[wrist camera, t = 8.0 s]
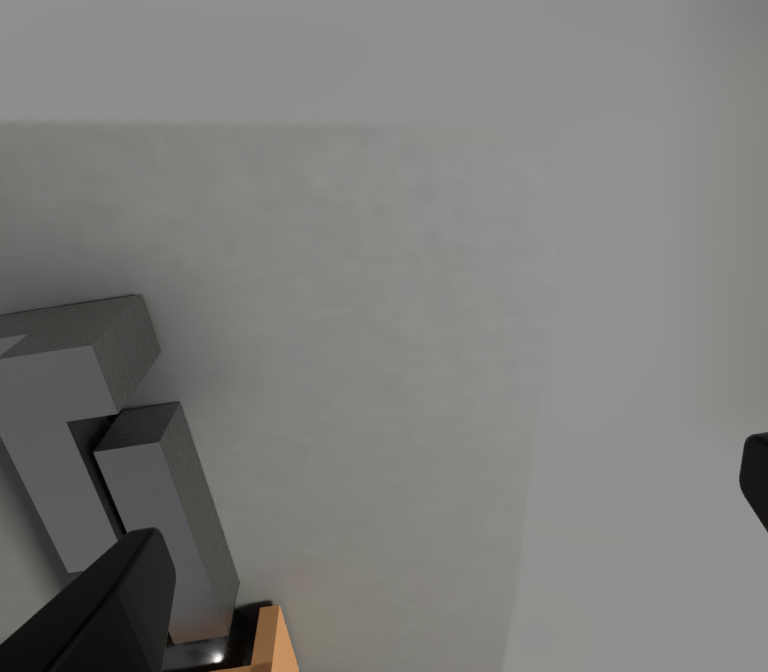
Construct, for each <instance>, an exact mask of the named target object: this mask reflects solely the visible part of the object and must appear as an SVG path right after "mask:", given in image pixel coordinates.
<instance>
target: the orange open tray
mask: <svg viewBox="0 0 768 672" xmlns="http://www.w3.org/2000/svg"><path fill="white" fill-rule="evenodd" d="M211 672H299V668H298V665H297V662H296V658H295V655H294V652H293V648H292V645H291V641H290V638H289V635H288V631H287V628H286V625H285V621H284V618H283V614H282V611H281V608H280V605H274V606H268V607H261V608H260V612H259V618H258V624H257V630H256V637H255V643H254V649H253V655H252V662H251V665H250V666H243V667H237V668H230V669H224V670H218V671H211Z"/></svg>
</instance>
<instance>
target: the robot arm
mask: <svg viewBox="0 0 768 672" xmlns="http://www.w3.org/2000/svg"><path fill="white" fill-rule="evenodd" d="M739 482H740V487H741V490H742V492H743V494H744V496H745V498H746V499H747V501H748V502H749V504H750V506H751V507H752V509H753V510H754V512H755V513H756V515H757V516H758V518H759V519H760V521H761V523H762V524H763V525H764V527H765V529H766V530H767V532H768V432H766V433H759V434H753V435H751V436H749V437H748V438H747V439H746V441H745V443H744V449H743V456H742V462H741V469H740V476H739ZM175 586H176V570H175V566H174V563H173V560H172V558H171V555H170V552H169V550H168V547H167V545H166V542H165V539H164V537H163V535H162V533H161V531H160V530H159V529H158V528H155V527H150V528H144V529H137V530H132V531H130V532H128V533H127V534H125V535H124V536H123V537H122V538H121V539H120V540H118V541H117V542H116V543H115V544H114V545H113V546H112V547H111V548H109V549H108V550H107V551H106V552H105V553H104V554H103V555H101V556H100V557H99V558H98V559H97V560H96V561H95V562H94V563H92V564H91V565H90V566H89V567H88V568H87V569H86V570H84V571H83V572H82V573H81V574H80V575H79V576H78V577H77V578H75V579H74V580H73V581H72V582H71V583H70V584H69V585H68V586H66V587H65V588H64V589H63V590H62V591H61V592H60V593H58V594H57V595H56V596H55V597H54V598H53V599H52V600H51V601H49V602H48V603H47V604H46V605H45V606H44V607H43V608H42V609H40V610H39V611H38V612H37V613H36V614H35V615H34V616H32V617H31V618H30V619H29V620H28V621H27V622H26V623H25V624H23V625H22V626H21V627H20V628H19V629H18V630H17V631H15V632H14V633H13V634H12V635H11V636H10V637H9V638H8V639H6V640H5V641H4V642H3V643H2V644H1V645H0V672H162V667H163V661H164V655H165V648H166V642H167V636H168V629H169V623H170V617H171V611H172V604H173V598H174V592H175Z"/></svg>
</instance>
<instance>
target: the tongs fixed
mask: <svg viewBox="0 0 768 672" xmlns="http://www.w3.org/2000/svg"><path fill="white" fill-rule="evenodd" d="M93 453H94V455H95V457H96V460H97V462H98V465H99V467H100V469H101V472H102V474H103V476H104V479H105V481H106V484H107V486H108V488H109V491H110V493H111V495H112V498H113V500H114V503H115V505H116V507H117V510H118V512H119V514H120V517H121V519H122V522H123V524H124V526H125V529H126V531H127V533H128V532H130V531H132V530H137V529H144V528H150V527H155V528H158V529H159V530H160V531H161V533H162V535H163V537H164V539H165V542H166V545H167V547H168V550H169V552H170V555H171V558H172V560H173V563H174V566H175V570H176V586H175V592H174V598H173V604H172V611H171V617H170V623H169V629H168V636H167V642H166V648H165V655H164V661H163V667H162V672H211V671H218V670H224V669H230V668H237V667H243V666H245V665H246V659H247V653H248V647H249V641H250V628H249V625H248V622H247V621H246V619H245V618H244V617H243V616H242V614H240V613H239V612H238V611H237V610H235V609H234V607H235V603H236V598H237V593H238V588H239V584H240V582H239V579H238V576H237V573H236V570H235V567H234V564H233V561H232V558H231V555H230V552H229V549H228V546H227V543H226V540H225V536H224V533H223V530H222V527H221V524H220V521H219V518H218V515H217V512H216V509H215V506H214V503H213V500H212V497H211V494H210V491H209V488H208V485H207V482H206V479H205V476H204V473H203V470H202V467H201V464H200V461H199V458H198V455H197V452H196V449H195V445H194V442H193V439H192V436H191V433H190V430H189V427H188V424H187V421H186V418H185V415H184V412H183V409H182V406H181V403H180V402H176V403H170V404H163V405H156V406H150V407H143V408H137V409H130V410H124V411H121V413H120V414H119V416H118V417H117V419H116V420H115V422H114V423H113V424H112V426H111V427H110V429H109V430H108V432H107V433H106V435H105V436H104V437H103V439H102V440H101V442H100V443H99V445H98V446H97V448H96V449H95V450H94V452H93Z"/></svg>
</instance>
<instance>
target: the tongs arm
mask: <svg viewBox="0 0 768 672" xmlns="http://www.w3.org/2000/svg"><path fill="white" fill-rule="evenodd" d="M160 353H161V350H160V347H159V344H158V341H157V338H156V335H155V332H154V329H153V326H152V323H151V320H150V317H149V314H148V311H147V308H146V305H145V302H144V299H143V296H142V294H141V295H134V296H127V297H121V298H114V299H107V300H101V301H94V302H88V303H81V304H74V305H68V306H61V307H55V308H48V309H41V310H35V311H28V312H22V313H15V314H8V315H2V316H0V437H1V439H2V441H3V443H4V445H5V447H6V449H7V451H8V453H9V455H10V457H11V459H12V461H13V463H14V465H15V467H16V469H17V471H18V473H19V475H20V477H21V479H22V481H23V483H24V485H25V487H26V489H27V491H28V493H29V495H30V497H31V499H32V501H33V503H34V505H35V507H36V509H37V511H38V513H39V515H40V517H41V519H42V521H43V523H44V525H45V527H46V529H47V531H48V533H49V535H50V537H51V539H52V541H53V543H54V545H55V547H56V549H57V551H58V553H59V555H60V557H61V559H62V561H63V563H64V566H65V568H66V570H67V572H68V576H69V578H70V580H71V582H72V581H73V580H74V579H75V578H77V577H78V576H79V575H80V574H81V573H82V572H83V571H84V570H86V569H87V568H88V567H89V566H90V565H91V564H92V563H94V562H95V561H96V560H97V559H98V558H99V557H100V556H101V555H103V554H104V553H105V552H106V551H107V550H108V549H109V548H111V547H112V546H113V545H114V544H115V543H116V542H117V541H118V540H120V539H121V538H122V537H123V536H124V535H125V534H127V531H126V529H125V526H124V524H123V522H122V519H121V517H120V514H119V512H118V510H117V507H116V505H115V503H114V500H113V498H112V495H111V493H110V491H109V488H108V486H107V484H106V481H105V479H104V476H103V474H102V472H101V469H100V467H99V465H98V462H97V460H96V457H95V455H94V453H93V452H94V450H95V449H96V448H97V446H98V445H99V443H100V442H101V440H102V439H103V437H104V436H105V435H106V433H107V432H108V430H109V429H110V427H111V426H112V424H111V422H110V419H109V417H108V415H114V414H118V413H119V412H120V410H121V409H122V407H123V406H124V404H125V403H126V402H127V400H128V399H129V397H130V396H131V394H132V393H133V391H134V390H135V389H136V387H137V386H138V384H139V383H140V381H141V380H142V379H143V377H144V376H145V374H146V373H147V371H148V370H149V369H150V367H151V366H152V364H153V363H154V361H155V360H156V359H157V357H158V356H159V354H160Z"/></svg>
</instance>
